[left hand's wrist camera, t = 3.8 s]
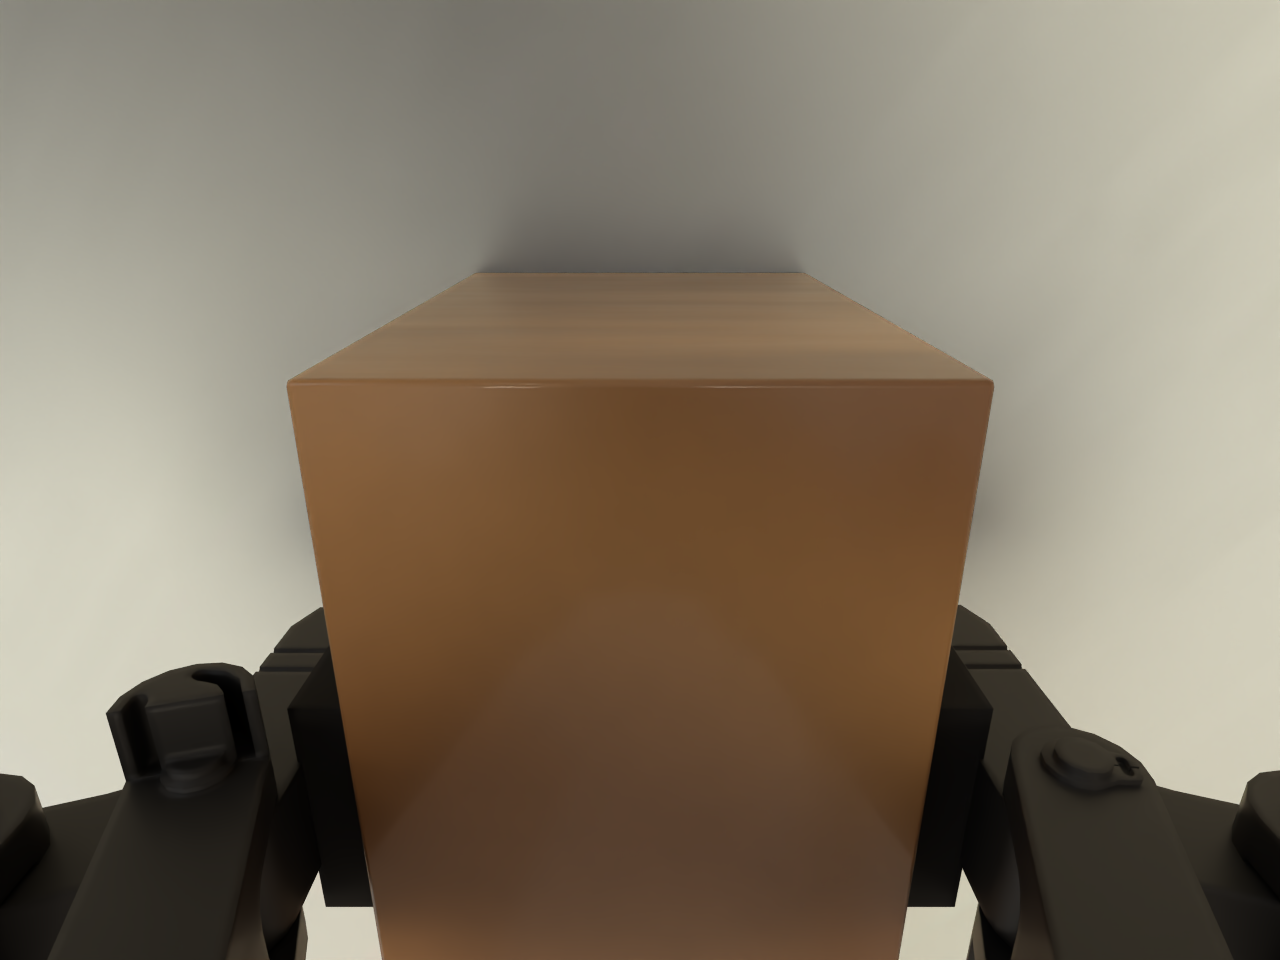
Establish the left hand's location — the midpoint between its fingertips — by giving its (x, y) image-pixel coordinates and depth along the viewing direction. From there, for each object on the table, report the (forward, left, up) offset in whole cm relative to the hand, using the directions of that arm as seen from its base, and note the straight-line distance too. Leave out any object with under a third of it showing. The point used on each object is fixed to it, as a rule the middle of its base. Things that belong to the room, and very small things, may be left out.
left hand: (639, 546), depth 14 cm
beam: (+34, 0, -1) cm, 34 cm away
